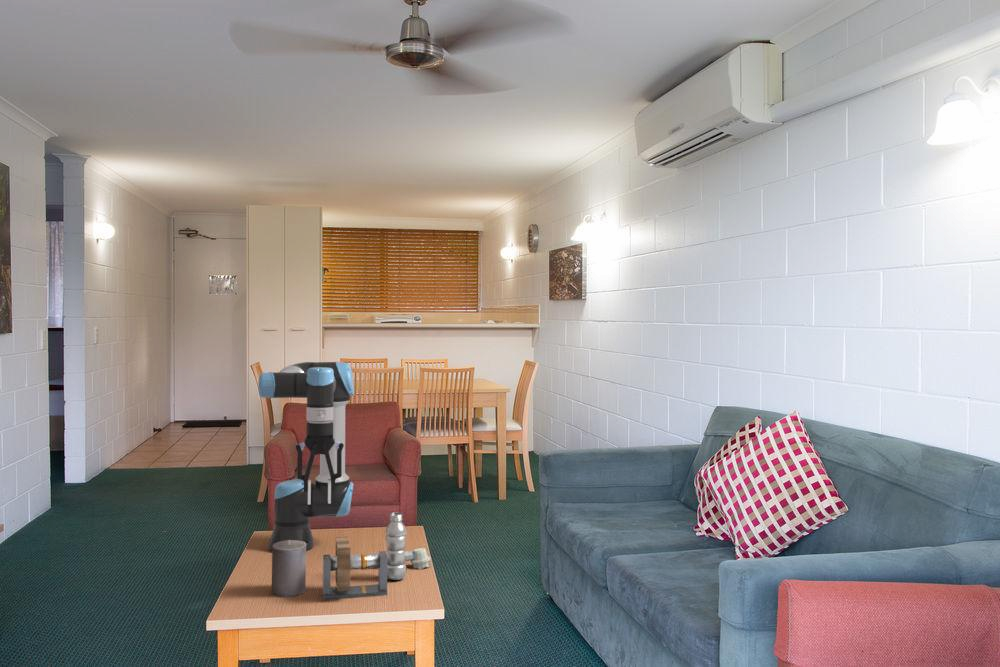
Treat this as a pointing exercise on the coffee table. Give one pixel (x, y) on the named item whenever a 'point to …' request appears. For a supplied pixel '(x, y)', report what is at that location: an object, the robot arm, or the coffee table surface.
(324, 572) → the rail stand
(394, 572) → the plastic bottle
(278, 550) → the pillar candle
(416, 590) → the coffee table surface
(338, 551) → the slotted tan block
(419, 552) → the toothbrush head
